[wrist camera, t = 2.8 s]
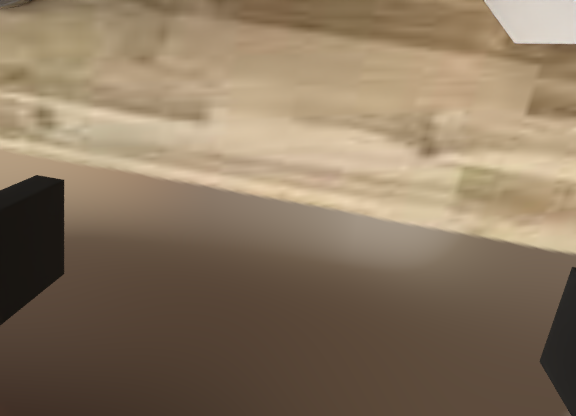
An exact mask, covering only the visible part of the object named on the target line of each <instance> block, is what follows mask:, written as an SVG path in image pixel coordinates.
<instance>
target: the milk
mask: <svg viewBox="0 0 576 416" xmlns="http://www.w3.org/2000/svg"><path fill="white" fill-rule="evenodd" d="M484 2H485V3H486V4H487V6H488V7H489V9H490V10H491V11H492V13H493V14H494V16H495V17H496V18H497V20H498V21H499V22H500V24H501V25H502V27H503V28H504V29H505V31H506V32H507V33H508V35H509V36H510V38H511V39H512V40H513V42H514V43H516V44H576V0H484Z"/></svg>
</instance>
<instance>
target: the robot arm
mask: <svg viewBox="0 0 576 416" xmlns="http://www.w3.org/2000/svg"><path fill="white" fill-rule="evenodd" d="M30 1H32V0H0V9H3V8H11V7H16V6H19V5H23V4H25V3H27V2H30ZM63 274H64V180H61V179H56V178H50V177H44V176H38V175H36V176H33V177H31V178H29V179H26V180H24V181H22V182H19V183H17V184H15V185H12V186H10V187H8V188H5V189H3V190H0V325H1V324H3V323H4V322H5V321H6V320H7V319H9V318H10V317H11V316H12V315H14V314H15V313H16V312H17V311H18V310H20V309H21V308H22V307H23V306H25V305H26V304H27V303H28V302H30V301H31V300H32V299H33V298H35V297H36V296H37V295H38V294H40V293H41V292H42V291H43V290H45V289H46V288H47V287H48V286H50V285H51V284H52V283H53V282H55V281H56V280H57V279H58V278H59V277H61V276H62V275H63ZM540 363H541V364H542V366H543V368H544V370H545V372H546V373H547V375H548V377H549V378H550V380H551V382H552V383H553V385H554V387H555V389H556V390H557V392H558V394H559V395H560V397H561V399H562V400H563V402H564V404H565V405H566V407H567V409H568V411H569V412H570V414H571V415H572V416H576V268H575V267H572V269H571V272H570V275H569V278H568V281H567V284H566V286H565V289H564V292H563V295H562V298H561V301H560V304H559V307H558V309H557V312H556V315H555V318H554V321H553V324H552V327H551V330H550V333H549V335H548V339H547V341H546V344H545V347H544V350H543V353H542V356H541V359H540Z"/></svg>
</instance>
